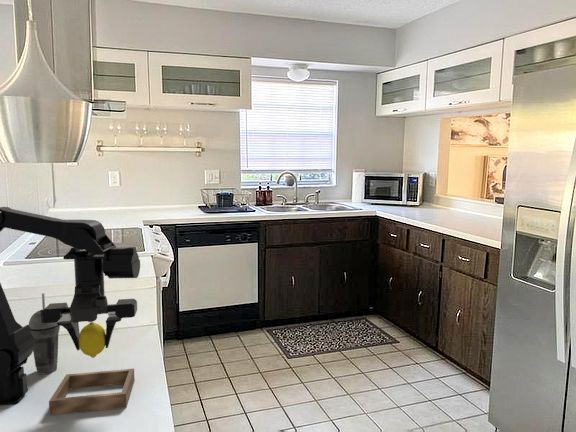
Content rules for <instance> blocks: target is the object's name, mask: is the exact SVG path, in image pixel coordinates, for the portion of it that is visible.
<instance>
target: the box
mask: <svg viewBox="0 0 576 432" xmlns="http://www.w3.org/2000/svg"><path fill="white" fill-rule="evenodd" d="M135 380H136V379H135V368H125V369H116V370H115V369H114V370H112V369H111V370H104V371H103V370H101V371H92V372H89V371H88V372H80V373H69V374H65V376H64V377H63V379H62V380H61V382H60V384H58V386H57V388H56V390H55V391H54V392H53V394H52V396H51V397H50V399H49V400H48V408H49V411H48V413H49V416H56V415H58V416H59V415H67V414H77V413H86V412H95V411H103V410H104V411H106V410H115V409H116V410H117V409H124V408H125V409H126V408H127V407H128V403H129V400H130V397H131V394H132V391H133V387H134V383H135ZM121 384H122V385H123V387H122V390H121V392H120V391H119V392H109V393H100V394H89V395H88V394H87V395H79V396H69V397H68V396H67V395H68V393H69V392H70V390H71V389H79V388H89V387H91V388H92V387H101V386H111V385H121Z"/></svg>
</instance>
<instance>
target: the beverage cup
mask: <svg viewBox="0 0 576 432" xmlns="http://www.w3.org/2000/svg"><path fill="white" fill-rule="evenodd" d="M41 301H42V305H41V307H42V309H39V310H37V311H36V312H34V313H33V314H32V315H31V317H30V318H29V320H28V321H29V322H28V325H29V326H30V329H31V333H32V336H33V337H34V338H35V339H36V341H34V350H33V352H32V354H33V358H34V359H33V360H34V364H35V369H36V373H37V374H38V375H47V374H52V373H54V372H56V371H57V370H58V362H59V361H58V360H59V357H58V355H59V333H60V330H61V329H60V327H61V326H58V325H57V323H58V321H57V322H55V323H41V312H42V311H43V310H44V309H45V308H46V305H45V304H46V303H45V293H41Z"/></svg>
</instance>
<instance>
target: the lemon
mask: <svg viewBox="0 0 576 432" xmlns="http://www.w3.org/2000/svg"><path fill="white" fill-rule="evenodd" d="M79 333H80V335H79V346H80V351H81V352H82V353H83V354H84V355H86V356H90V357H91V358H93V359H94V358H96V357H97V356H98V355H100V354H101V353H102V352H103V351H104V349H105V348H106V345H105V339H106V330H105V329H104V327H103V326H102V325H100V324H98V323H97V322H96V323H95V321H93V322H88V324H86V325H84V326H83V328H82V329H81V330H80V331H79Z"/></svg>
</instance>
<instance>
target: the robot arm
mask: <svg viewBox="0 0 576 432" xmlns="http://www.w3.org/2000/svg"><path fill="white" fill-rule="evenodd" d="M4 229H11V230H14V231H20V232H24V233H30V234H34V235H39V236H42V237H49V238H53V239H56V240H58V241H59V242H61V243H62V244H64V245H66V246H68V247H70V250H69V251H68V252H67V253H66V254H65V255H63V259H64V260H73V263H74V266H73V267H74V282H75V286H74V294H73V297H72V298H73V299H72V301H71V304H70V306H69V305H68V302H57V303H56V302H52V303H49V304H48V305H47V306H45V309H44V310H43V309H42V310H43V311H42V312H41V323H55V322H57V321H58V323H57V325H58V326H60V327H63V328H64V329H65V330H66V331H67V333H68V334H69V336H70V338H71V340H72V342H73V344H74V347H75V349H76V350H77V351H81V349H80V346H79V335H80V325H79V323H81V322H83V323H84V322H88V323H90V322H95V321H96V320H97V319H98V315H103V314H105V315H107V316H108V317H107V318H106V320H105V325H106V326H105V327H106V328H105V334H106V339H105V349H108V348H109V345H110V342H111V338H112V335H113V332H114V328H115V326H116V324H117V323H120V322H121V321H122V320H123V319H127V318H135V316H136V314H137V312H138V301H137V299H135V298H123V299H122V298H121V299H118V300H117V301H116V303H115V304H114V303H113V304H108V298H107V296H106V295H105V278H104V277H107V278H108V279H112V280H113V279H137V278H138V277H139V275H140V273H141V259H140V257H139V254H138V252H137V247H136V246H128V247H117V245H115V243H114V242H113V241H112V240H111V239H110V237H109V236H108V235H107V233H106V230H105V227H104V226H103V224H102V223H101V221H99V220H96V219H62V218H57V217H52V216H47V215H43V214H39V213H38V214H37V213H33V212H27V211H23V210H19V209H15V208H14V209H13V208H11V207H8V206H0V233H1V232H2V231H3V230H4ZM13 314H14V313H13V311H12V309H11V307H10V304H9V302H8V299H7V297H6V294H5V291H4V289H3V286H2V284H1V282H0V405H9V404H17V403H19V402H20V401H21V400H22V399H23V397H24V396H25V395H26V393H27V392H28V391H29V387H28V379H27V378H28V377H27V376H28V375H27V373H25V368H24V366H23V365H25V364H27V362H28V359H29V358H30V356H31V355H33V350H34V341H36V339H35V338H34V337H33V336H32V333H31V329H30V326H29V324H26V325H24V326H22V325H21V324H20V323H18V322H17V321H16V319H15V316H14V315H13Z"/></svg>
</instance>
